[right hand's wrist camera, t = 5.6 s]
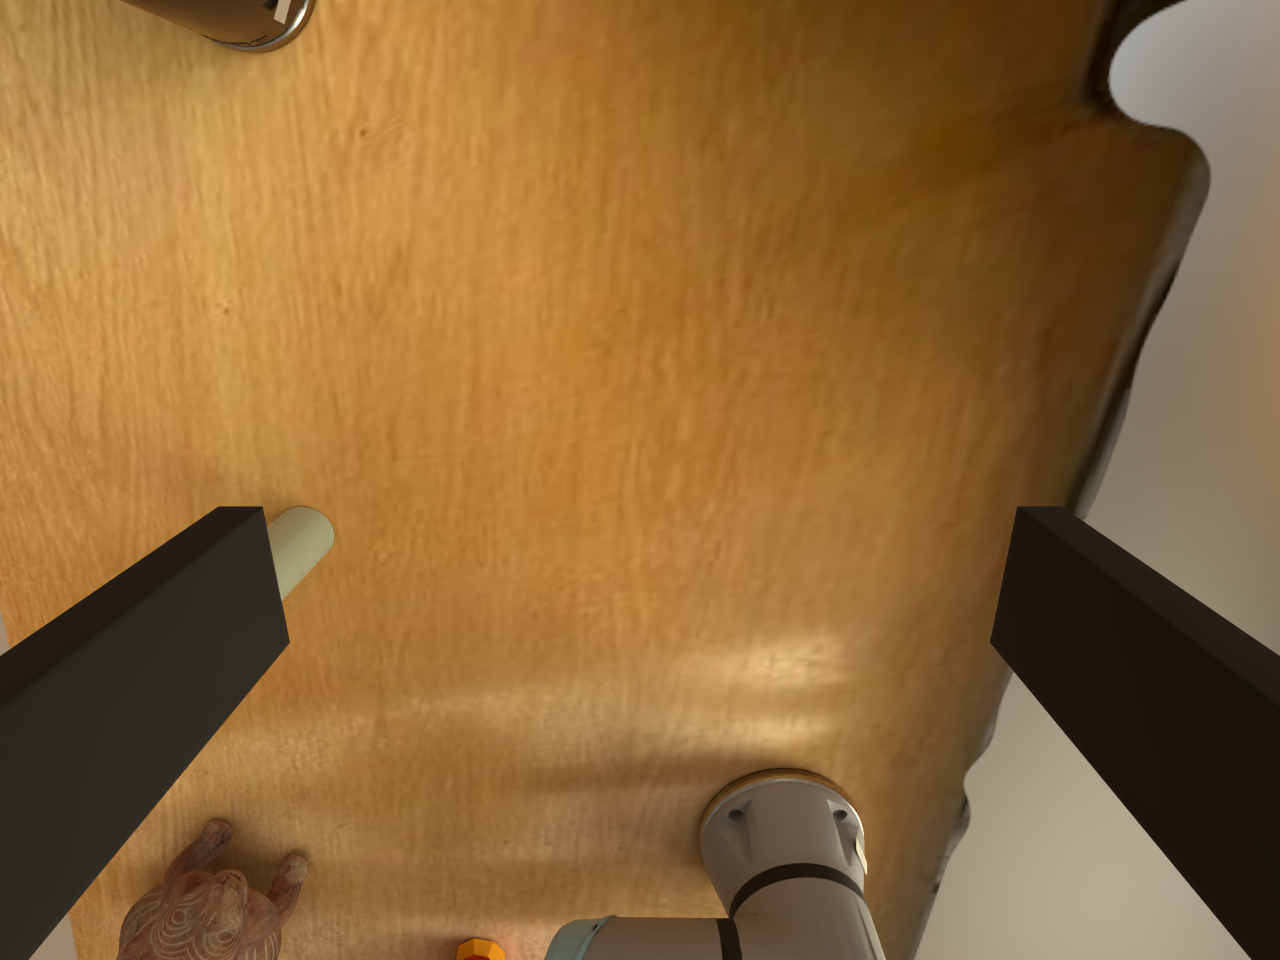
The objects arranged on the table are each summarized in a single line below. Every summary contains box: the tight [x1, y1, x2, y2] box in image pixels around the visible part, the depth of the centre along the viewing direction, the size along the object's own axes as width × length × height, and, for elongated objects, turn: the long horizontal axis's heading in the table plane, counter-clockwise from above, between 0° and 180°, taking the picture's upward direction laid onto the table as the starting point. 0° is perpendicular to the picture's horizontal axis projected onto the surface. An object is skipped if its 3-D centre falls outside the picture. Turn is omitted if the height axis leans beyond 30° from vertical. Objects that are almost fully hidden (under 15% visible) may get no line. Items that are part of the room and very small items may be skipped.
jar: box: [267, 506, 334, 601], centre depth 50 cm, size 5×5×16 cm
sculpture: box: [116, 820, 309, 960], centre depth 62 cm, size 14×25×15 cm, turn 153°
